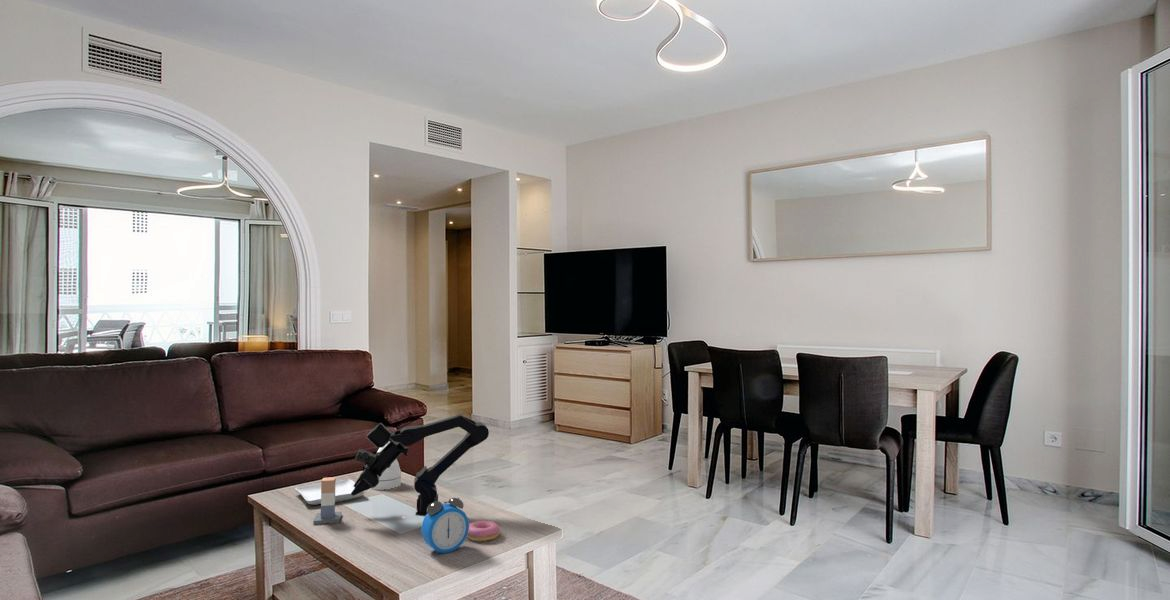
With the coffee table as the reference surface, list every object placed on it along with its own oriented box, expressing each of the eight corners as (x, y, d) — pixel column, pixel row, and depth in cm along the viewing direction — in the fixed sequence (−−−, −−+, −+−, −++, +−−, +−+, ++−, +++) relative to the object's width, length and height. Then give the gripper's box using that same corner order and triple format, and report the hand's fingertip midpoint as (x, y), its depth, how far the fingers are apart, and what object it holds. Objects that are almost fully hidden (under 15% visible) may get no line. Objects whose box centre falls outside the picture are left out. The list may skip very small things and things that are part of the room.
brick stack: (334, 513, 214) (335, 477, 215) (333, 517, 211) (334, 480, 211) (322, 514, 213) (323, 477, 214) (320, 518, 210) (321, 480, 210)
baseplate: (341, 515, 217) (341, 511, 217) (339, 522, 209) (339, 519, 209) (316, 516, 215) (316, 513, 215) (313, 524, 207) (313, 521, 207)
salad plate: (293, 495, 240) (293, 486, 240) (350, 486, 252) (350, 478, 252) (306, 510, 223) (307, 500, 223) (367, 499, 235) (367, 490, 235)
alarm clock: (428, 558, 181) (429, 506, 181) (419, 551, 186) (420, 501, 186) (469, 548, 189) (470, 498, 189) (460, 542, 194) (460, 493, 194)
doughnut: (489, 545, 192) (489, 531, 192) (458, 540, 195) (458, 527, 195) (505, 533, 202) (506, 520, 202) (475, 529, 206) (476, 516, 206)
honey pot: (393, 479, 263) (394, 436, 263) (406, 486, 253) (407, 441, 253) (363, 484, 254) (363, 440, 255) (375, 491, 245) (376, 445, 245)
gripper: (371, 435, 225) (338, 468, 222) (368, 447, 207) (332, 482, 204) (394, 456, 227) (362, 488, 224) (392, 469, 209) (357, 505, 206)
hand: (353, 490), depth 214 cm, fingers open, 9 cm apart
